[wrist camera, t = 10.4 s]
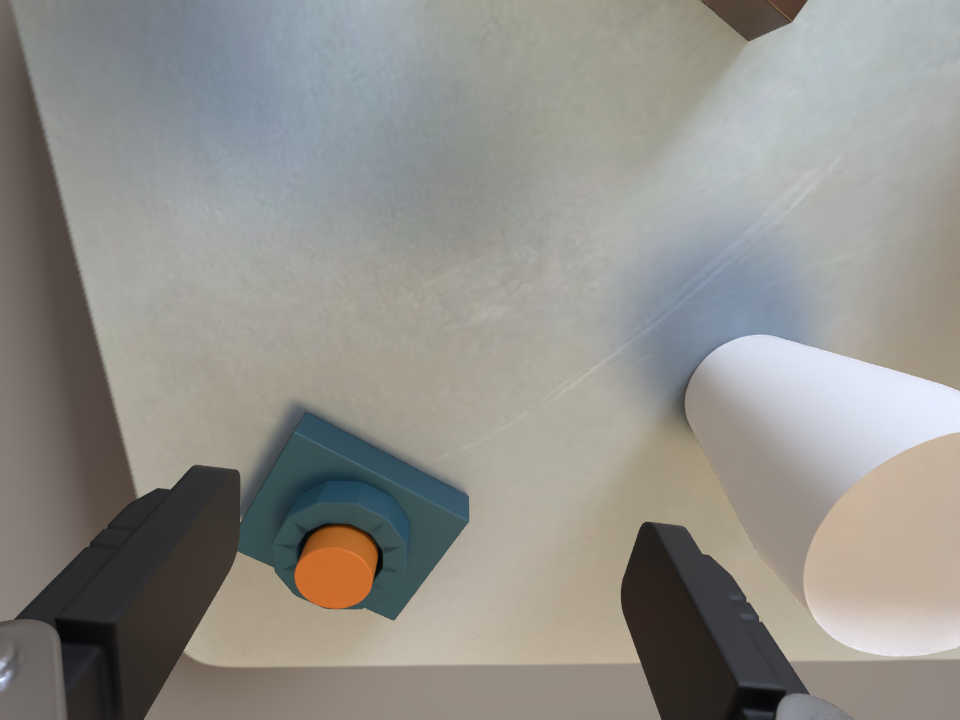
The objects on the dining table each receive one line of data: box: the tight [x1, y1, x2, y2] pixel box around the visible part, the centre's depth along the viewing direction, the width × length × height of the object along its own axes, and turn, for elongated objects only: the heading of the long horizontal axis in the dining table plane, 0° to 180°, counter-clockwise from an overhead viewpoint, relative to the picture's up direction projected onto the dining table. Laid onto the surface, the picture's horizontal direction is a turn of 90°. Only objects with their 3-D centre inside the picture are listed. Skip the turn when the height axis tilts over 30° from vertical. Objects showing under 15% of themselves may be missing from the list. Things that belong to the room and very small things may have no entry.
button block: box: [237, 412, 469, 620], centre depth 27 cm, size 10×8×4 cm
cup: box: [685, 335, 960, 657], centre depth 22 cm, size 9×9×12 cm
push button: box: [294, 524, 378, 609], centre depth 25 cm, size 4×4×2 cm
